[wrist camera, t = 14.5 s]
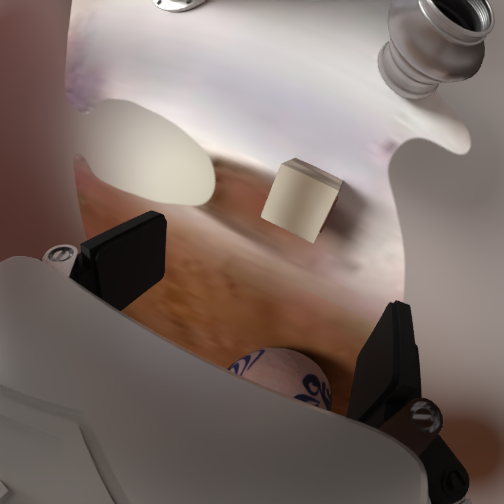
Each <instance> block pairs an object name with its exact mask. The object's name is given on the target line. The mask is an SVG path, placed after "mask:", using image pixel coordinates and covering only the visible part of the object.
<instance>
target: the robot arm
mask: <svg viewBox="0 0 504 504" xmlns="http://www.w3.org/2000/svg"><path fill="white" fill-rule="evenodd" d="M204 1H206V0H152V2H153V3H154V4H155V6H157V7H158V8H160V9H162V10H165V11H169V12H180V11H185V10H188V9H191V8H194V7H196V6H198V5H200V4H201V3H203V2H204ZM166 229H167V221H166V219H165V217H164V215H163V214H161V213H158V212H155V211H149V212H146V213H144V214H142V215H140V216H137V217H135V218H133V219H131V220H129V221H127V222H124V223H122V224H120V225H118V226H116V227H114V228H112V229H110V230H108V231H105V232H103V233H101V234H99V235H97V236H95V237H93V238H91V239H89V240H87V241H85V242H83V243H82V244H80V246H81V253H80V254H78V251H77V249H76V248H75V247H74V246H71V245H59V246H55V247H53V248H51V249H50V250H48V251H47V253H46V254H45V256H44V257H43V259H42V260H37V259H34V258H30V257H22V256H15V257H11V258H9V259H7V260H5V261H3V262H1V263H0V504H472V502H471V500H470V498H468V499H466V498H465V495H466V493H467V491H468V488H469V476H468V473H467V471H466V470H465V468H464V467H463V465H462V464H461V463H460V461H459V460H458V459H457V457H456V456H455V455H454V454H453V452H452V451H451V450H450V448H449V447H448V446H447V445H446V443H445V442H444V441H443V440H442V438H441V437H440V436H439V433H440V431H441V429H442V428H443V415H442V413H441V410H440V409H439V408H438V406H437V405H436V404H435V403H434V402H432V401H431V400H429V399H426V398H422V396H421V378H420V363H419V353H418V347H417V345H416V344H415V338H414V330H413V322H412V315H411V308H410V305H408V304H405V303H403V302H400V301H397V300H396V301H395V302H394V303H391V302H390V303H389V304H388V305H387V307H386V309H385V311H384V313H383V314H382V316H381V318H380V320H379V321H378V323H377V325H376V327H375V328H374V330H373V332H372V333H371V335H370V337H369V338H368V340H367V342H366V343H365V345H364V346H363V348H362V350H361V351H360V353H359V355H358V358H357V361H356V368H355V374H354V380H353V386H352V391H351V397H350V402H349V407H348V411H347V416H346V417H344V416H342V415H339V414H336V413H333V412H330V411H327V410H325V409H322V408H319V407H316V406H314V405H311V404H308V403H305V402H303V401H300V400H298V399H295V398H293V397H290V396H288V395H285V394H282V393H280V392H277V391H275V390H272V389H270V388H268V387H265V386H263V385H260V384H258V383H256V382H253V381H251V380H249V379H247V378H244V377H242V376H240V375H238V374H236V373H233V372H231V371H229V370H227V369H225V368H223V367H221V366H219V365H217V364H215V363H212V362H210V361H208V360H206V359H204V358H202V357H200V356H198V355H196V354H194V353H193V352H191V351H189V350H187V349H185V348H183V347H181V346H179V345H177V344H176V343H174V342H172V341H170V340H168V339H166V338H165V337H163V336H161V335H159V334H157V333H156V332H154V331H152V330H151V329H149V328H147V327H145V326H144V325H142V324H140V323H139V322H137V321H135V320H134V319H132V318H130V317H129V316H127V315H125V314H124V313H122V312H121V310H123V309H124V308H125V307H127V306H128V305H129V304H130V303H132V302H133V301H134V300H135V299H137V298H138V297H139V296H141V295H142V294H143V293H144V292H146V291H147V290H148V289H150V288H151V287H152V286H154V285H155V284H156V283H157V282H159V281H160V280H161V279H162V278H163V276H164V273H165V249H166Z"/></svg>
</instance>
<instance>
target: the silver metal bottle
mask: <svg viewBox="0 0 504 504" xmlns="http://www.w3.org/2000/svg"><path fill="white" fill-rule="evenodd" d="M493 26H494V14H493V11H492V8H491V6H490V4H489V2H488V1H487V0H394V1H393V3H392V4H391V7H390V9H389V14H388V27H389V33H390V41H388V42H387V43H386V44H385V45H384V46H383V47H382V49H381V50H380V52H379V55H378V68H379V72H380V74H381V76H382V78H383V80H384V81H385V83H386V84H387V85H388V86H389V88H390V89H392V90H393V91H394V92H395V93H397V94H399V95H401V96H403V97H406V98H410V99H423V98H426V97H428V96H430V95H431V94H432V93H433V92H434V91H435V90H436V88H437V87H438V85H439V83H441V82H457V81H463V80H466V79H468V78H471V77H472V76H473V75H475V74H476V73H477V72H478V70H479V69H480V67H481V64H482V62H483V58H484V53H485V46H484V39H485V37H486V35H487V34H488V33H490V32H491V30H492V28H493Z"/></svg>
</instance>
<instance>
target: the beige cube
mask: <svg viewBox="0 0 504 504" xmlns="http://www.w3.org/2000/svg"><path fill="white" fill-rule="evenodd" d="M342 182H343V180H341V179H339V178H337V177H335V176H333V175H331V174H329V173H327V172H325V171H323V170H321V169H319V168H317V167H314V166H312V165H310V164H308V163H306V162H303V161H301V160H299V159H297V158H294V159H291V160H289V161H286V162H284V163H282V164H281V165H280V168H279V170H278V173H277V176H276V178H275V181H274V183H273V186H272V189H271V191H270V194H269V196H268V199H267V202H266V204H265V207H264V209H263V212H262V215H261V218H263V219H265V220H268V221H270V222H272V223H274V224H276V225H278V226H280V227H282V228H284V229H286V230H288V231H290V232H292V233H294V234H296V235H298V236H300V237H302V238H304V239H306V240H308V241H310V242H311V243H314V241H315V239H316V237H317V235H318V233H319V232H320V233H321V232H322V230H323V228H324V226H325V224H326V222H327V220H328V218H329V216H330V214H331V212H332V210H333V208H334V206H335V204H336V201H337V199H338V197H337V194H338V192H339V189H340V187H341V184H342Z"/></svg>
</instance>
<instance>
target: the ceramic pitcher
mask: <svg viewBox="0 0 504 504" xmlns="http://www.w3.org/2000/svg"><path fill="white" fill-rule="evenodd" d="M227 370H229V371H231V372H233V373H236V374H238V375H240V376H242V377H244V378H247V379H249V380H251V381H253V382H256V383H258V384H260V385H263V386H265V387H268V388H270V389H272V390H275V391H277V392H280V393H282V394H285V395H288V396H290V397H293V398H295V399H298V400H300V401H303V402H305V403H308V404H311V405H314V406H316V407H319V408H322V409H325V410H327V411H330V410H331V390H330V386H329V382H328V380H327V378H326V376H325V374H324V373H323V371H322V369H321V368H320V367H319V366H318V365H317V364H316V363H315V362H314V361H312V360H311V359H310V358H308V357H306V356H305V355H303V354H301V353H299V352H296V351H294V350H290V349H286V348H265V349H260V350H258V351H254V352H252V353H250V354H248V355H246V356H244V357H242V358H241V359H239V360H237V361H236V362H234V363H233V364H232V365H231V366H230V367H229V368H228V369H227Z"/></svg>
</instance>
